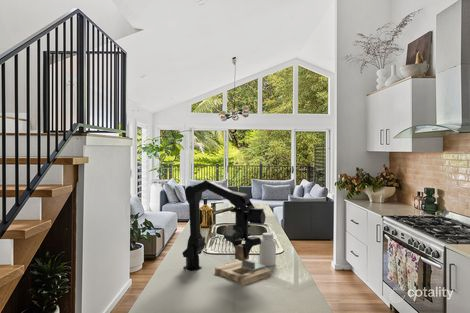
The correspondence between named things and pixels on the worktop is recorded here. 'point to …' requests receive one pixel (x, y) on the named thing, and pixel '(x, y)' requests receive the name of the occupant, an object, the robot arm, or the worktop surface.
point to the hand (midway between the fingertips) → (241, 257)
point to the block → (240, 253)
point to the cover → (251, 265)
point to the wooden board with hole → (235, 268)
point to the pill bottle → (267, 250)
